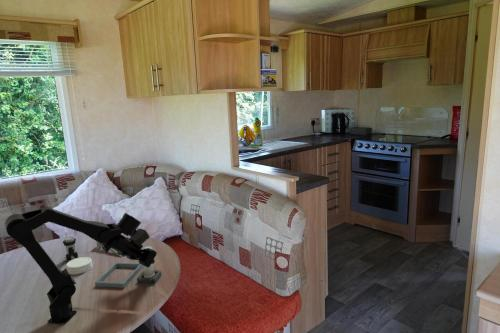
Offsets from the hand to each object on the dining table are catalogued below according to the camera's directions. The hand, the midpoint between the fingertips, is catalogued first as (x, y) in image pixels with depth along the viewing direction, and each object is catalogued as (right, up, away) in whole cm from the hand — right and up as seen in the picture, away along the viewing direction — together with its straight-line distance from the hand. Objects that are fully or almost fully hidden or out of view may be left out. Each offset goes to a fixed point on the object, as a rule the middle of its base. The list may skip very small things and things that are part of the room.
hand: (150, 260), depth 137 cm
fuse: (-1, -6, 0) cm, 6 cm away
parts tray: (-13, -8, +3) cm, 16 cm away
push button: (-43, -5, +22) cm, 48 cm away
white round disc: (-34, -7, +12) cm, 37 cm away
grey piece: (-1, -8, +1) cm, 8 cm away
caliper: (-28, -4, +28) cm, 40 cm away
